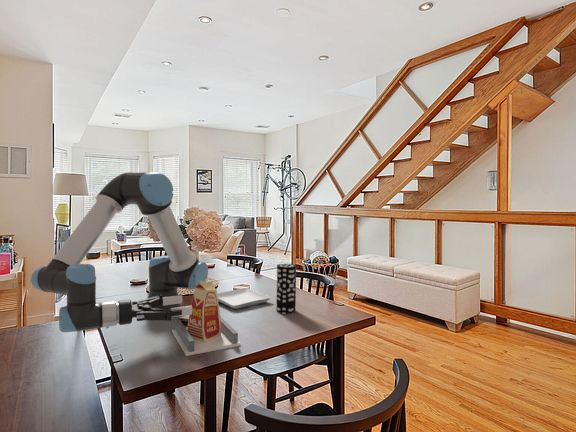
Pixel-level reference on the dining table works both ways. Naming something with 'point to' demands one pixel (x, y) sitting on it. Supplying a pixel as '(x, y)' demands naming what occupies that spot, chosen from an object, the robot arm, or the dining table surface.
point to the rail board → (195, 347)
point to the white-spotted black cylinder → (286, 288)
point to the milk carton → (204, 313)
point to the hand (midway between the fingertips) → (186, 304)
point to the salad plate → (242, 298)
